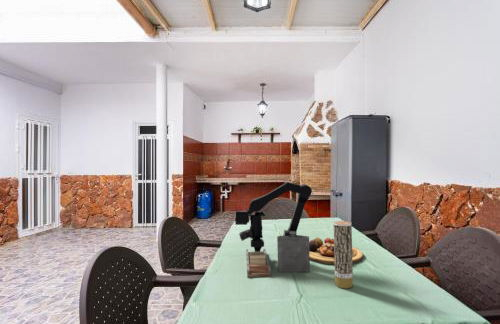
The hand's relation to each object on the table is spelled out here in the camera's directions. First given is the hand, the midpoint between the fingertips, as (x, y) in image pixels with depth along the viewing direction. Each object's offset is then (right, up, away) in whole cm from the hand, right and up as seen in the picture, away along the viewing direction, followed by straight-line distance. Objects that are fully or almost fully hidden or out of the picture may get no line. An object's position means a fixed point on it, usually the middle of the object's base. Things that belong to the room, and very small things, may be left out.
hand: (257, 255), depth 136 cm
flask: (+17, -3, -11) cm, 20 cm away
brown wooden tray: (0, -4, -2) cm, 4 cm away
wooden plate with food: (+40, -3, +10) cm, 41 cm away
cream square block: (0, -2, -5) cm, 6 cm away
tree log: (+34, -3, -26) cm, 43 cm away
